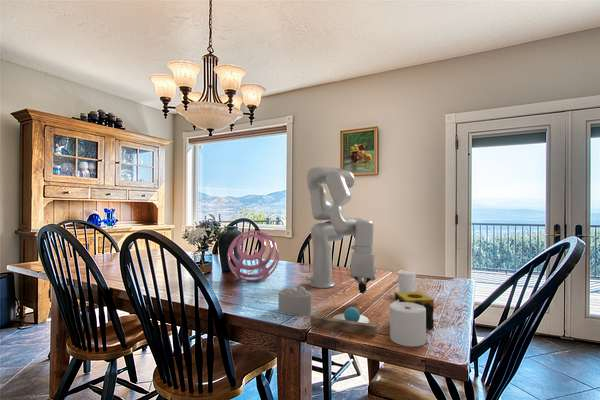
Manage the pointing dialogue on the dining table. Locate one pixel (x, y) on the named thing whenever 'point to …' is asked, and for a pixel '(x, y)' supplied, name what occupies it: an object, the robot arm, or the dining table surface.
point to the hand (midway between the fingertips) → (362, 292)
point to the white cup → (406, 281)
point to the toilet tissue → (407, 323)
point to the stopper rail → (344, 325)
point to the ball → (352, 314)
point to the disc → (362, 320)
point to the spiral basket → (253, 257)
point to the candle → (421, 300)
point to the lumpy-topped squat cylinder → (294, 301)
